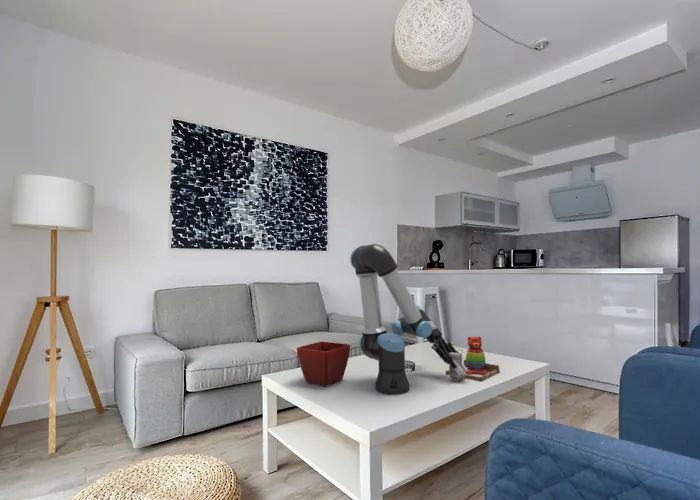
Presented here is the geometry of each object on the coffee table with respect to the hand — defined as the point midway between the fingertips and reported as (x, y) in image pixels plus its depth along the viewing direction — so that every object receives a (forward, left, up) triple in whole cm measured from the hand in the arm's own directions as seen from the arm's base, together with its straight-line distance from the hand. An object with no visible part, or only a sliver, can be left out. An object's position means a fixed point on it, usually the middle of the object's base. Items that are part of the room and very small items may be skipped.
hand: (463, 372), depth 172 cm
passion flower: (+37, +28, -5) cm, 47 cm away
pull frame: (+12, +4, -4) cm, 13 cm away
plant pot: (-40, +51, -5) cm, 65 cm away
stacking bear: (+19, +4, -5) cm, 20 cm away
